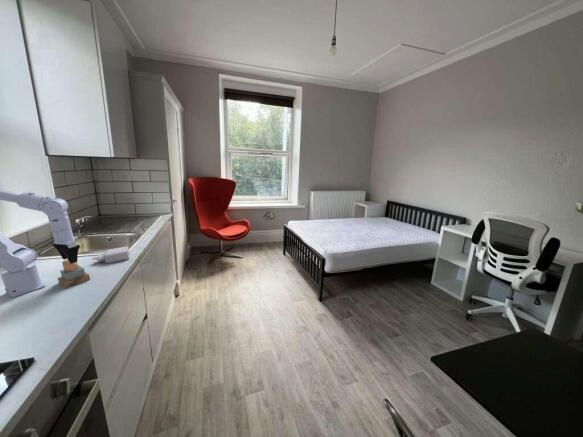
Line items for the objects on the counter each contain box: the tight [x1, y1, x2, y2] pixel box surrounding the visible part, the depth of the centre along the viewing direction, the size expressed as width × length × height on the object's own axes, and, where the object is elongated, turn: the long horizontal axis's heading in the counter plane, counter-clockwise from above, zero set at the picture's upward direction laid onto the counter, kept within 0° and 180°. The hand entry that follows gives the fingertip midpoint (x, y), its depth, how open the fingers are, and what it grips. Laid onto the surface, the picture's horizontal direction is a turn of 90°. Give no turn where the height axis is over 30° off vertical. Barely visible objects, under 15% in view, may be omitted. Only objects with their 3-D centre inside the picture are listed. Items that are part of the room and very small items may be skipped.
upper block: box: [59, 265, 86, 281], centre depth 101 cm, size 6×6×3 cm
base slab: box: [57, 271, 91, 289], centre depth 102 cm, size 8×8×3 cm
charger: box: [91, 245, 130, 264], centre depth 122 cm, size 5×9×15 cm
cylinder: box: [61, 259, 79, 272], centre depth 100 cm, size 4×4×4 cm
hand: (70, 260), depth 100 cm, fingers open, 7 cm apart
